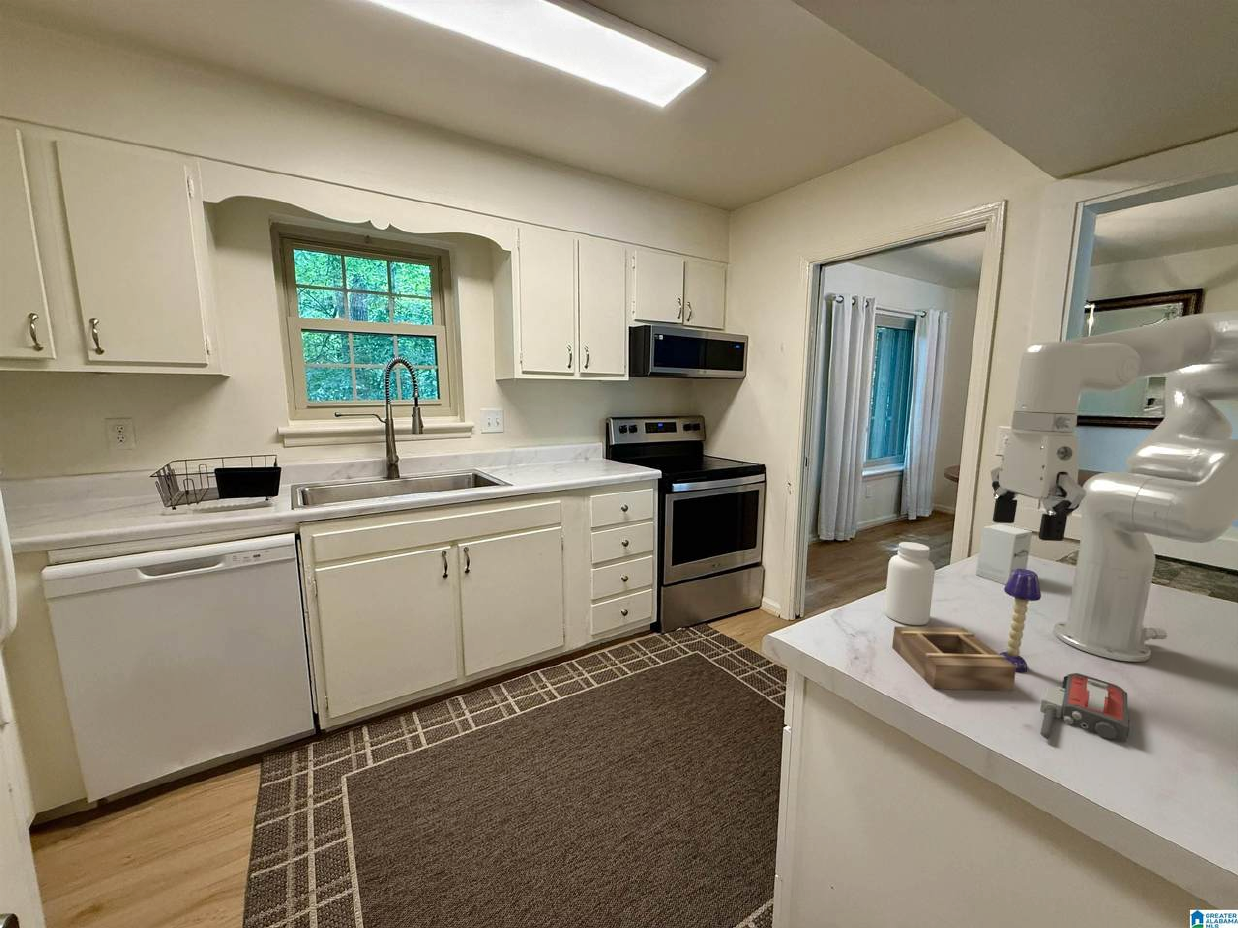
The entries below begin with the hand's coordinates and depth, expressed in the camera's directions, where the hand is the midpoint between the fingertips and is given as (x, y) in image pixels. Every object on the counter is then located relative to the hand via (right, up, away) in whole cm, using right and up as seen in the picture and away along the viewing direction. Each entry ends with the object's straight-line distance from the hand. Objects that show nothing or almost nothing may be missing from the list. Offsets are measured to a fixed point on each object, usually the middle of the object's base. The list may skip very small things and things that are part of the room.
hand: (1025, 530), depth 79 cm
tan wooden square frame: (-11, -23, +2) cm, 26 cm away
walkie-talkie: (0, -26, -10) cm, 28 cm away
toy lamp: (0, -23, +3) cm, 24 cm away
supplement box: (+28, -17, +41) cm, 53 cm away
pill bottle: (-7, -20, +20) cm, 30 cm away
